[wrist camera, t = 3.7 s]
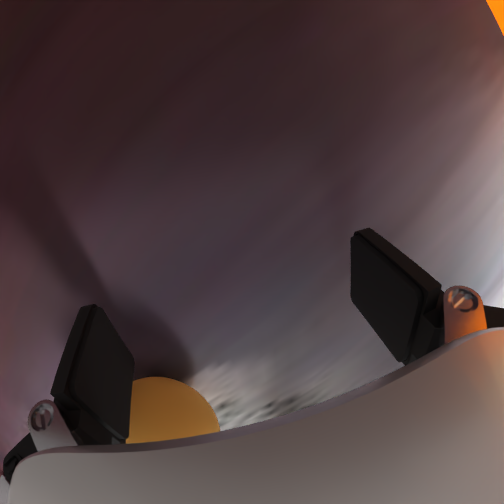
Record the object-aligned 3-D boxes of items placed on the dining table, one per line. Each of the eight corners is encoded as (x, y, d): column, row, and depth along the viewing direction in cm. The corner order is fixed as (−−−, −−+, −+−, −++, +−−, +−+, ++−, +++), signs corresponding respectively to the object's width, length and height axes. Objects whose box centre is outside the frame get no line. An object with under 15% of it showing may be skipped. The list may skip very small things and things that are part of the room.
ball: (224, 402, 14) (243, 487, 10) (140, 417, 14) (141, 497, 9) (191, 341, 12) (203, 456, 7) (89, 363, 11) (72, 462, 7)
